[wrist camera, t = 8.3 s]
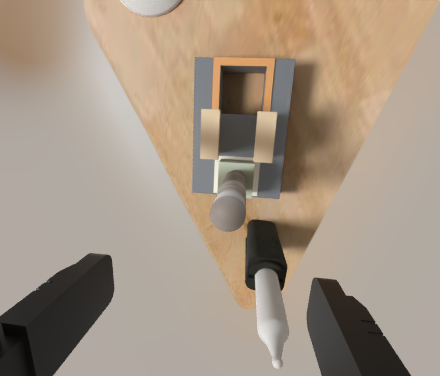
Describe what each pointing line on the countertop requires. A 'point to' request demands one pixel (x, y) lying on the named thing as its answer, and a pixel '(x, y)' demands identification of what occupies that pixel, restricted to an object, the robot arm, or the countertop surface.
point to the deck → (241, 121)
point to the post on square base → (232, 194)
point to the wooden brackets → (262, 138)
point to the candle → (267, 284)
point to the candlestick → (150, 7)
